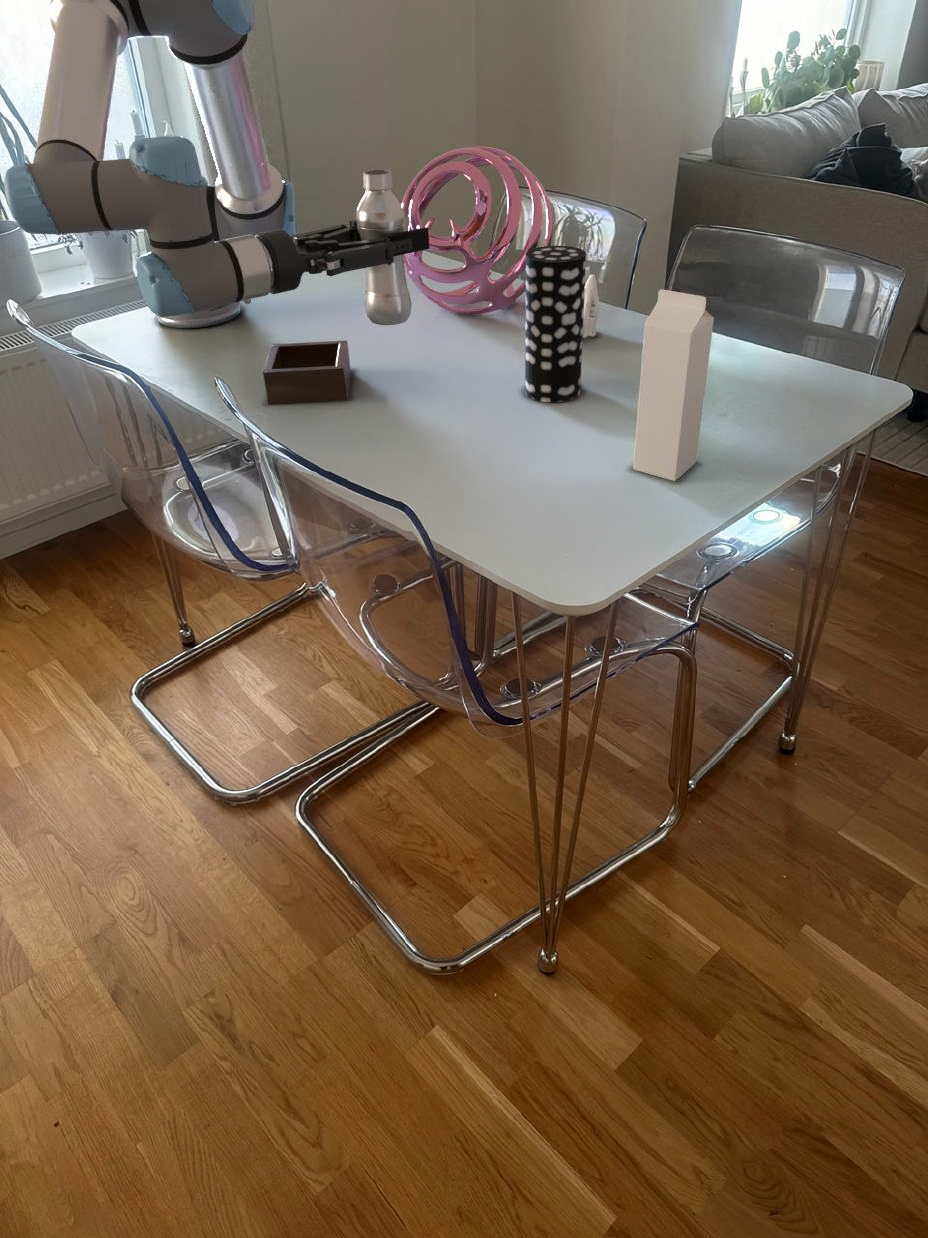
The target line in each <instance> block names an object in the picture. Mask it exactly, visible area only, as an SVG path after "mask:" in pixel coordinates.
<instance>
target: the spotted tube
mask: <svg viewBox="0 0 928 1238" xmlns="http://www.w3.org/2000/svg"><path fill="white" fill-rule="evenodd" d="M543 246H544V245H543ZM543 246H539V247H536V248H534V249H531V250H529V251H528V252H526V268H525V280H526V291H525V292H524V294H525V297H524V299H525V301H524V302H525V303H524V304H525V305H524V306H525V309H524V311H525V316H524V317H525V319H524V321H525V322H524V325H525V329H524V332H525V333H524V335H525V336H524V339H525V340H524V341H525V342H524V343H525V344H524V393H525V395H526V396H527V397H528V398H530V399H532V400H534V401H537V402H542V403H562V402H567V401H571V400H573V399H575V398H577V397H579V396H580V394H581V389H582V387H581V386H582V384H581V383H582V365H583V364H582V361H583V339H584V338H583V331H584V330H583V316H584V292H585V285H586V266H587V265H586V264H587V252H586V251H585V250H584V249H582V248H579V247H575V246H571V245H551V246H544V247H543Z"/></svg>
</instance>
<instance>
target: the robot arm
mask: <svg viewBox="0 0 928 1238" xmlns="http://www.w3.org/2000/svg"><path fill="white" fill-rule="evenodd" d="M50 1H51V2H50V7H49V21H50V24H51V28H52V29H53V32H54V37H53V44H52V50H51V56H50V62H49V68H48V75H47V81H46V86H45V93H44V97H43V103H42V110H41V117H40V123H39V129H38V134H37V141H36V147H35V151H34V157H33V161H32V163H28V162H23V163H22V164H15V165H12V166H11V167H10V168H7V170H6V172H5V175H4V183H3V184H4V185H3V186H4V194H5V199H6V203H7V206H8V210H9V211H10V214H11V215H12V218H13V219H14V222H15V224H16V225H17V226H18V227H19V228H20V229H21V230H22V231H24V232H25V233H27V234H29V235H57V236H61V235H71V234H83V233H98V232H99V233H100V232H112V231H113V232H116V231H117V232H118V231H120V232H121V231H138V230H146V234H147V237H148V240H149V245H150V251H148V252H146V253H145V254H142V255H140V256H139V257H138V258H137V260H136V262H135V269H136V279H137V282H138V286H139V290H140V292H141V295H142V298H143V300H144V302H145V304H146V306H147V307H148V309H149V310H150V311H151V313H153V314H154V315H156V317H157V321H158V323H160V324H161V325H163V326H165V327H169V328H177V329H197V328H198V329H199V328H205V327H210V326H211V327H212V326H216V325H219V324H223V323H226V322H228V321H230V320H233V319H234V318H236V317H237V316H238V315H240V313H241V306H240V302H243V303H244V304H246V305H249V304H251V302H252V299H257V298H261V297H266V296H268V295H269V294H271V295H277V294H282V293H286V292H291V291H294V290H297V289H298V288H299V287H300V284H301V281H302V277H303V275H304V273H308V274H309V275H319V274H322V273H323V272H325V273H326V276H328V277H334V276H337V275H340V274H343V273H347V272H351V271H357V270H361V269H366V268H368V267H373V266H378V265H383V264H388V265H391V264H392V263H393V262H394V256H399V255H403V254H408V253H412V252H417V251H421V250H423V251H425V250H429V249H430V248H429V230H428V228H427V227H423V228H418V229H413V230H405V231H404V232H399V233H394V234H389V235H384V236H385V238H382V239H374V240H365V241H361V237H360V233H359V229H358V224H357V220H349V226H348V225H347V224H344V223H343V224H342V223H341V224H339V225H334V226H330V227H326V228H320V229H316V230H311V231H308V232H303V233H299V234H296V232H297V231H296V230H297V229H296V199H295V198H296V197H295V186H294V183H292V181H287V180H283V177H282V174H281V173H280V172H279V170H278V169H277V168H276V167H275V166H274V165H272V164H270V161H269V156H268V153H267V149H266V144H265V139H264V135H263V132H262V127H261V123H260V120H259V115H258V111H257V106H256V103H255V99H254V95H253V90H252V87H251V82H250V78H249V75H248V70H247V65H246V62H245V57H244V53H243V51H244V50H245V48H246V46H247V44H248V41H249V33H251V32H252V31H253V30H254V28H255V25H256V12H255V5H254V4H255V3H254V0H50ZM136 38H137V39H138V38H164V39H165V42H166V44H167V48H168V50H169V51H170V53H171V54H172V56H173V57H174V58H176V59H177V60H178V61H180V62H182V63H184V66H185V69H186V73H187V76H188V79H189V82H190V86H191V89H192V93H193V95H194V99H195V102H196V106H197V108H198V111H199V114H200V117H201V121H202V124H203V126H204V130H205V134H206V137H207V140H208V143H209V147H210V150H211V153H212V156H213V160H214V162H215V166H216V169H217V172H218V177H217V178H216V181H215V185H209V181H208V180H207V178H206V177H205V176H203V175H202V172H201V168H200V163H199V159H198V154H197V150H196V147H195V144H194V143H193V142H192V141H191V140H189V138H186V137H183V136H178V135H159V136H152V137H150V136H149V137H143V138H139V139H136V140H133V141H131V142H130V144H129V145H128V158H120V159H119V158H118V159H108V160H107V159H106V160H105V159H104V158H105V150H106V143H107V137H108V129H109V121H110V115H111V107H112V99H113V93H114V85H115V77H116V69H117V62H118V57H119V56H121V55H122V54H123V52H124V51H125V49H126V48H127V45H128V43H129V42H128V41H129V40H132V39H136Z"/></svg>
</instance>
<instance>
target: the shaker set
mask: <svg viewBox="0 0 928 1238" xmlns="http://www.w3.org/2000/svg"><path fill="white" fill-rule="evenodd" d="M599 307H600V298H599V291H598V285H597V279H596V275H595V274H592V273H591V274H590V275H589V277H588V279H587V280H586V282H585V292H584V316H583V339H585V338H587V337H592V338H593V337H595V336H597V334H596V331H597V324H598V323H597V322H598V315H599Z"/></svg>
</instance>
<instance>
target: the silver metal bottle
mask: <svg viewBox="0 0 928 1238" xmlns="http://www.w3.org/2000/svg"><path fill="white" fill-rule="evenodd" d="M362 176H363V184H362V186H363V189H364V190H365V193H364V195H363V197H362V198H361V199H360V202H359V203H358V206H357V208H356V214H355V219H356V221H357V227H358V229H359V233H360V237H361V241H365V240H374V239H382V238H385V236H384V235H389V234H394V233H399V232H404V221H405V220H404V211H403V208H402V206H401V204H402V203H400V201H399V199H398V198H397V197H396V195H395V194H394V193H393V191H392V188H393V187H394V182H393V176H392V171H391V170H389V169H369V170H366V171H363V174H362ZM405 222H406V221H405ZM365 289H366V290H365V292H364V293H365V294H364V309H365V312H366V317H367V318H368V319H369V321H370V322H371V323H372V324H375V325H379V326H396V325H401V324H405V322H407V321H409V318H410V316H411V314H412V307H413V306H412V305H413V304H412V299H411V293H410V291H409V288H408V283H407V277H406V269H405V267H404V257H403V255H399V256H394V262H393V263H392V264H391V265H388V264H383V265H378V266H373V267H368V268H365Z"/></svg>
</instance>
